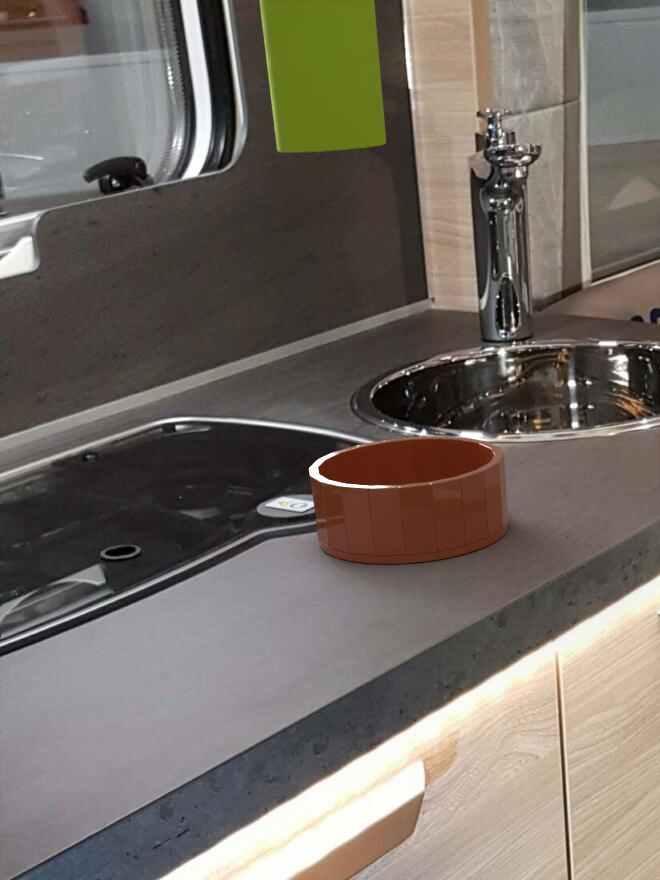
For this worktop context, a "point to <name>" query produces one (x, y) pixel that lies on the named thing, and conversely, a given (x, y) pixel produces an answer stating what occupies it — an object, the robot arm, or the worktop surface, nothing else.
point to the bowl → (410, 499)
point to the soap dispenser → (323, 74)
